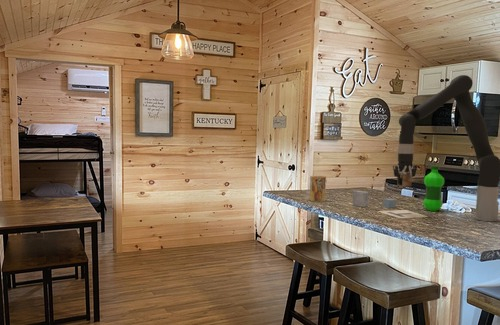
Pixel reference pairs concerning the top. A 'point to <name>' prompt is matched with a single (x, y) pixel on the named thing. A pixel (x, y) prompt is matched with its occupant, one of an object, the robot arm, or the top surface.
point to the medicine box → (360, 198)
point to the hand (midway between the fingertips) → (404, 184)
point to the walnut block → (406, 180)
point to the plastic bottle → (433, 189)
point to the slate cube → (389, 203)
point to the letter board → (403, 214)
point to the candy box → (317, 188)
